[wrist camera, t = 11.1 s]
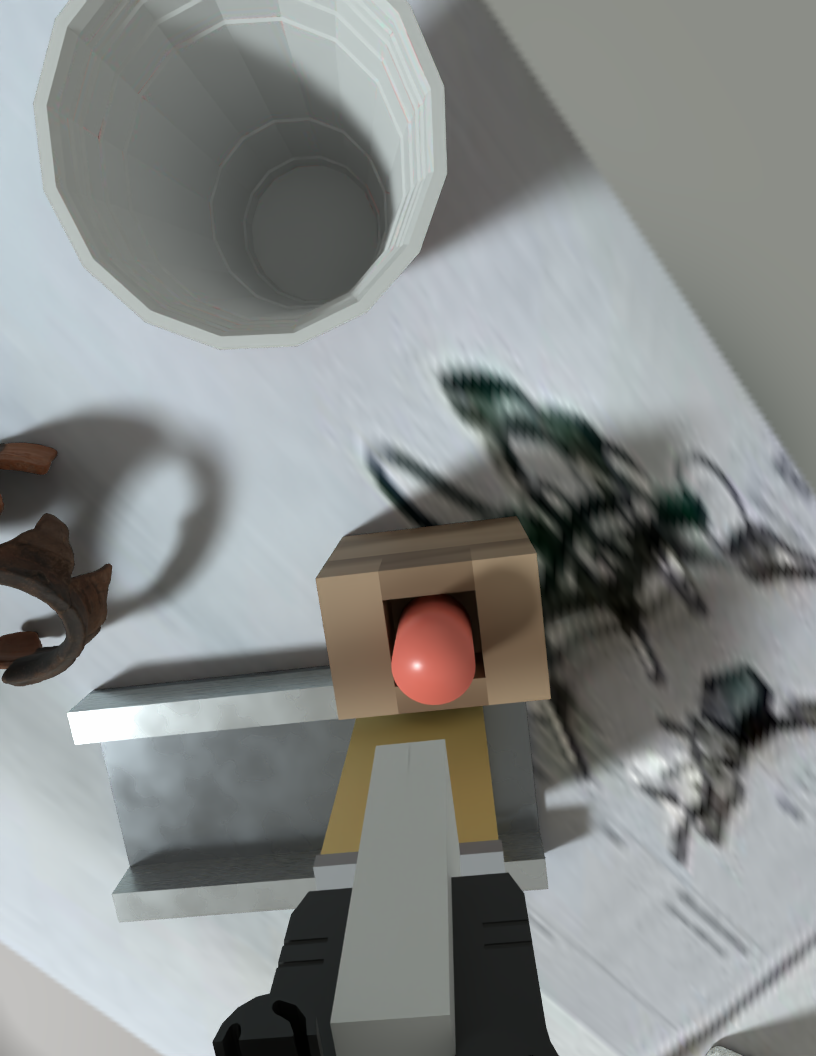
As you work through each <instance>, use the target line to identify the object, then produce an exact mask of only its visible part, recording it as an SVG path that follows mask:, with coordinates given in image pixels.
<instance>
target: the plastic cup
mask: <svg viewBox="0 0 816 1056" xmlns="http://www.w3.org/2000/svg"><path fill="white" fill-rule="evenodd" d="M33 106H34V115H35V123H36V131H37V140H38V148H39V156H40V165H41V173H42V181H43V190H44V192H45V194H46V196H47V198H48V200H49V202H50V204H51V206H52V208H53V210H54V212H55V214H56V215H57V217H58V219H59V221H60V223H61V225H62V227H63V229H64V231H65V233H66V235H67V237H68V239H69V241H70V242H71V244H72V246H73V248H74V250H75V252H76V254H77V256H78V258H79V260H80V262H81V264H82V266H83V267H84V268H85V269H86V270H87V271H88V272H89V273H91V274H92V275H93V276H94V277H95V278H96V279H97V280H98V281H99V282H101V283H102V284H103V285H104V286H105V287H106V288H107V289H108V290H109V291H111V292H112V293H113V294H114V295H115V296H116V297H117V298H118V299H120V300H121V301H122V302H123V303H124V304H125V305H126V306H127V307H128V308H130V309H131V310H132V311H133V312H134V313H135V314H136V315H137V316H139V317H140V318H141V319H142V320H143V321H144V322H146V323H148V324H151V325H154V326H157V327H159V328H162V329H165V330H167V331H170V332H173V333H176V334H178V335H181V336H184V337H186V338H189V339H192V340H195V341H197V342H200V343H203V344H205V345H208V346H211V347H214V348H216V349H219V350H225V349H247V348H270V347H293V346H299V345H301V344H303V343H305V342H307V341H309V340H311V339H313V338H315V337H317V336H319V335H321V334H324V333H326V332H328V331H330V330H332V329H334V328H336V327H338V326H340V325H342V324H344V323H346V322H348V321H350V320H353V319H355V318H357V317H359V316H361V315H363V314H365V313H367V312H368V311H369V310H370V308H371V307H372V306H373V305H374V304H375V303H376V302H377V300H378V299H379V298H380V297H381V296H382V295H383V294H384V292H385V291H386V290H387V289H388V288H389V287H390V286H391V284H392V283H393V282H394V281H395V280H396V279H397V278H398V276H399V275H400V274H401V273H402V272H403V271H404V270H405V269H406V267H407V266H408V265H409V264H410V263H411V262H412V261H413V259H414V258H415V257H416V256H417V255H418V254H419V253H420V250H421V247H422V244H423V241H424V238H425V236H426V233H427V230H428V227H429V224H430V221H431V218H432V215H433V213H434V210H435V207H436V204H437V201H438V198H439V195H440V193H441V190H442V187H443V184H444V181H445V178H446V175H447V153H446V123H445V92H444V84H443V82H442V80H441V77H440V75H439V73H438V70H437V68H436V65H435V63H434V61H433V58H432V56H431V54H430V51H429V49H428V46H427V44H426V42H425V39H424V37H423V34H422V32H421V30H420V27H419V25H418V23H417V20H416V18H415V15H414V13H413V11H412V8H411V6H410V4H409V3H408V2H407V1H406V0H69V1H68V3H67V4H66V5H65V7H64V8H63V9H62V11H61V12H60V13H59V15H58V16H57V17H56V18H55V21H54V25H53V29H52V33H51V37H50V41H49V45H48V48H47V52H46V56H45V60H44V64H43V68H42V72H41V75H40V79H39V83H38V87H37V91H36V95H35V98H34V102H33Z"/></svg>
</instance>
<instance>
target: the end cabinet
mask: <svg viewBox="0 0 816 1056" xmlns="http://www.w3.org/2000/svg"><path fill="white" fill-rule="evenodd" d="M316 584H317V591H318V597H319V603H320V609H321V615H322V621H323V627H324V633H325V639H326V645H327V652H328V658H329V664H330V670H331V676H332V682H333V688H334V694H335V700H336V706H337V713H338V719H339V720H343V719H353V718H364V717H374V716H384V715H394V714H404V713H414V712H424V711H435V710H445V709H455V708H465V707H475V706H485V705H495V704H506V703H516V702H526V701H536V700H546V699H551V695H550V685H549V675H548V665H547V654H546V644H545V634H544V624H543V614H542V603H541V593H540V583H539V573H538V563H537V553H536V551H535V549H534V548H533V546H532V544H531V542H530V540H529V538H528V536H527V534H526V533H525V531H524V529H523V527H522V525H521V523H520V521H519V520H518V518H517V516H513V517H505V518H496V519H488V520H479V521H471V522H462V523H454V524H446V525H437V526H429V527H420V528H412V529H404V530H395V531H387V532H378V533H370V534H362V535H353V536H345V537H342V539H341V540H340V542H339V543H338V545H337V547H336V548H335V550H334V551H333V553H332V554H331V556H330V557H329V559H328V560H327V562H326V563H325V565H324V566H323V568H322V569H321V571H320V573H319V574H318V576H317V577H316ZM435 594H446V595H449V596H451V597H453V598H455V599H456V600H458V601H459V602H460V603H461V604H462V605H463V606H464V608H465V609H466V610H467V612H468V614H469V617H470V621H471V627H472V636H473V645H474V655H475V666H476V667H475V674H474V678H473V681H472V683H471V685H470V686H469V688H468V689H467V690H466V691H465V692H464V694H462V695H461V696H460V697H459V698H457V699H455V700H453V701H451V702H449V703H445V704H440V705H427V704H422V703H419V702H417V701H415V700H412V699H411V698H409V697H408V696H407V695H405V694H404V693H403V692H402V691H401V690H400V688H399V687H398V686H397V684H396V682H395V680H394V677H393V674H392V668H391V662H392V656H393V650H394V645H395V640H396V634H397V629H398V624H399V619H400V616H401V613H402V611H403V609H404V608H405V607H406V605H407V604H408V603H409V602H410V601H412V600H413V599H415V598H416V597H418V596H426V595H435Z"/></svg>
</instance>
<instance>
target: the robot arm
mask: <svg viewBox="0 0 816 1056" xmlns="http://www.w3.org/2000/svg"><path fill="white" fill-rule="evenodd" d="M213 1046H214V1051H215V1055H216V1056H559V1055H558V1054H557V1052H556V1050H555V1049H554V1047H553V1045H552V1043H551V1042H550V1039H549V1035H548V1032H547V1029H546V1024H545V1018H544V1012H543V1005H542V999H541V993H540V987H539V981H538V975H537V969H536V963H535V957H534V950H533V945H532V938H531V932H530V926H529V920H528V914H527V908H526V902H525V895H524V893H523V891H522V890H521V888H520V887H519V886H518V884H517V883H516V882H515V880H514V879H513V878H512V876H511V875H510V874H509V872H507V873H496V874H484V875H472V876H461V870H460V849H459V841H458V834H457V826H456V819H455V811H454V804H453V796H452V789H451V781H450V774H449V766H448V759H447V751H446V744H445V739H440V740H430V741H420V742H410V743H400V744H390V745H380V746H376V749H375V755H374V761H373V767H372V773H371V779H370V785H369V791H368V797H367V803H366V809H365V815H364V821H363V828H362V834H361V840H360V846H359V852H358V858H357V864H356V870H355V876H354V882H353V888H342V889H331V890H319V891H309V892H308V893H307V894H306V896H305V897H304V898H303V900H302V901H301V902H300V904H299V905H298V906H297V908H296V909H295V910H294V912H293V913H292V914H291V917H290V921H289V924H288V928H287V932H286V936H285V939H284V946H283V947H282V950H281V954H280V958H279V962H278V968H277V969H276V973H275V976H274V980H273V984H272V988H271V991H270V994H266V995H262V996H258V997H255V998H254V999H252V1000H250V1001H248V1002H247V1003H245V1004H243V1005H242V1006H240V1007H238V1008H237V1009H236V1010H235V1011H234V1012H233V1013H232V1014H231V1015H230V1016H229V1017H228V1018H227V1019H226V1020H225V1021H224V1022H223V1023H222V1025H221V1027H220V1029H219V1031H218V1033H217V1034H216V1036H215V1038H214V1040H213Z"/></svg>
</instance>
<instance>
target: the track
mask: <svg viewBox="0 0 816 1056" xmlns="http://www.w3.org/2000/svg"><path fill="white" fill-rule="evenodd" d="M483 713H484V722H485V730H486V738H487V747H488V755H489V764H490V772H491V780H492V789H493V797H494V806H495V814H496V822H497V831H498V839H499V840H502V848H503V856H504V865H505V873H507V872H509V874H510V875H511V876H512V878H513V879H514V880H515V882H516V883H517V884H518V886H519V887H520V888H521V890H522V891H528V890H541V889H548V881H547V872H546V862H545V856H544V851H543V846H542V842H541V837H540V832H539V823H538V814H537V804H536V795H535V785H534V776H533V766H532V757H531V747H530V738H529V729H528V719H527V710H526V702H516V703H506V704H495V705H485V706H483ZM67 714H68V718H69V722H70V726H71V731H72V735H73V739H74V743H75V745H76V744H86V743H97V742H100V743H101V747H102V751H103V755H104V760H105V764H106V768H107V772H108V776H109V781H110V785H111V789H112V793H113V797H114V802H115V806H116V810H117V814H118V818H119V822H120V827H121V831H122V835H123V839H124V843H125V848H126V852H127V856H128V860H129V864H130V867H129V869H128V870H127V872H126V873H125V875H124V876H123V878H122V879H121V881H120V882H119V884H118V886H117V887H116V889H115V890H114V892H113V893H112V897H113V901H114V905H115V909H116V913H117V917H118V921H119V922H130V921H143V920H156V919H169V918H181V917H194V916H207V915H220V914H233V913H246V912H258V911H271V910H284V909H296V908H297V906H298V905H299V904H300V902H301V901H302V900H303V898H304V897H305V896H306V894H307V893H308V892H309V891H317V887H316V881H315V876H314V870H313V865H314V862H315V858H316V855H320V854H321V850H322V847H323V843H324V839H325V835H326V831H327V828H328V824H329V820H330V816H331V812H332V808H333V805H334V801H335V797H336V793H337V789H338V786H339V782H340V778H341V774H342V770H343V766H344V763H345V759H346V755H347V751H348V747H349V744H350V740H351V736H352V732H353V728H354V724H355V721H356V718H353V719H343V720H339V719H338V713H337V706H336V700H335V694H334V688H333V682H332V676H331V670H330V666H321V667H311V668H302V669H292V670H283V671H273V672H264V673H254V674H245V675H235V676H226V677H216V678H206V679H197V680H187V681H178V682H168V683H159V684H149V685H140V686H130V687H121V688H111V689H101V690H93V691H92V692H90V693H89V694H88V695H87V696H86V697H85V698H84V699H82V700H81V701H80V702H79V703H78V704H77V705H76V706H75V707H73V708H72V709H71V710H70V711H69V712H68V713H67Z"/></svg>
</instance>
